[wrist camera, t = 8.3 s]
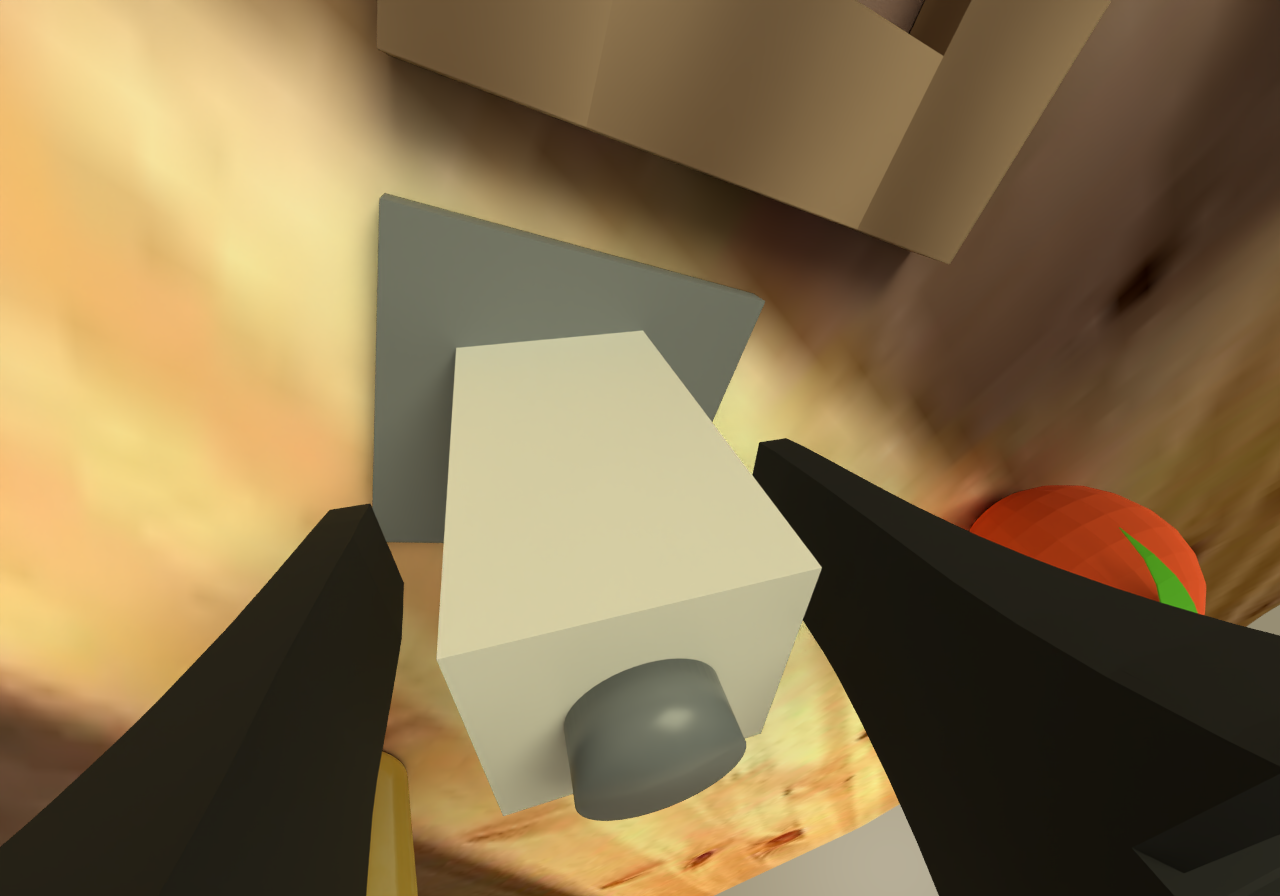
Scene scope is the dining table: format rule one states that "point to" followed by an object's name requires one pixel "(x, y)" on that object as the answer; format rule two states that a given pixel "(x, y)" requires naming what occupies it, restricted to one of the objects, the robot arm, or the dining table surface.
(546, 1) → the holder
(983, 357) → the dining table surface
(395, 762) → the plant pot
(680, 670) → the plug
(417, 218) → the coaster
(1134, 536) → the clementine
